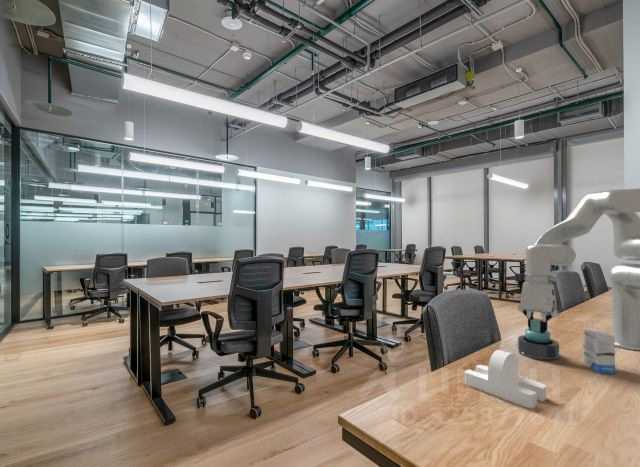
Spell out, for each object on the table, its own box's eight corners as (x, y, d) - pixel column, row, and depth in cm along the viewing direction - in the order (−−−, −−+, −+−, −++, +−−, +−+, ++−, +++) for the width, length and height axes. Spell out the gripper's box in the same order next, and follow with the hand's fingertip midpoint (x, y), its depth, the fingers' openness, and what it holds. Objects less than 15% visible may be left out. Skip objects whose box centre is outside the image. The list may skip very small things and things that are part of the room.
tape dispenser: (531, 410, 84) (531, 366, 84) (463, 384, 98) (463, 346, 98) (547, 399, 89) (547, 357, 89) (480, 376, 104) (480, 340, 104)
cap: (530, 335, 127) (530, 316, 127) (553, 340, 121) (553, 320, 121) (521, 338, 123) (521, 319, 123) (545, 344, 117) (545, 323, 117)
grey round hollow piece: (526, 346, 131) (526, 333, 131) (563, 355, 121) (563, 341, 121) (512, 353, 123) (512, 339, 123) (550, 363, 114) (550, 348, 114)
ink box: (616, 374, 105) (616, 336, 105) (597, 373, 106) (597, 335, 106) (599, 364, 113) (599, 328, 113) (582, 363, 114) (582, 327, 114)
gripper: (568, 281, 118) (568, 334, 118) (518, 276, 131) (517, 324, 131) (560, 283, 113) (560, 338, 113) (509, 277, 127) (508, 327, 126)
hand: (537, 330), depth 122 cm, fingers closed on cap, 3 cm apart
